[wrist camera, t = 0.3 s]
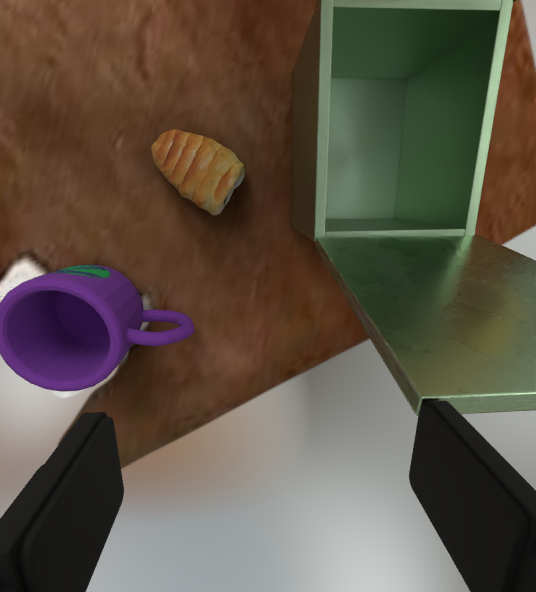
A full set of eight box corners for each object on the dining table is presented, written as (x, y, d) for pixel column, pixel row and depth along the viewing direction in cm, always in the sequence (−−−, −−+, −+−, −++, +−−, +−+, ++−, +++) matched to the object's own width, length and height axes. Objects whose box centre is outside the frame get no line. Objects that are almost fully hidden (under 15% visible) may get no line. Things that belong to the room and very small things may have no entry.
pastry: (144, 171, 36) (133, 168, 32) (174, 113, 34) (165, 103, 31) (220, 218, 38) (218, 221, 34) (251, 165, 36) (252, 161, 32)
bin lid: (421, 397, 10) (416, 417, 10) (803, 379, 11) (785, 398, 11) (315, 237, 24) (315, 248, 25) (479, 234, 25) (476, 244, 26)
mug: (55, 345, 41) (-3, 390, 31) (48, 253, 37) (-20, 273, 28) (198, 354, 42) (184, 400, 33) (203, 267, 39) (189, 290, 29)
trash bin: (292, 71, 34) (321, -9, 21) (412, 72, 34) (514, -5, 21) (290, 226, 38) (314, 242, 25) (396, 224, 39) (474, 239, 26)
